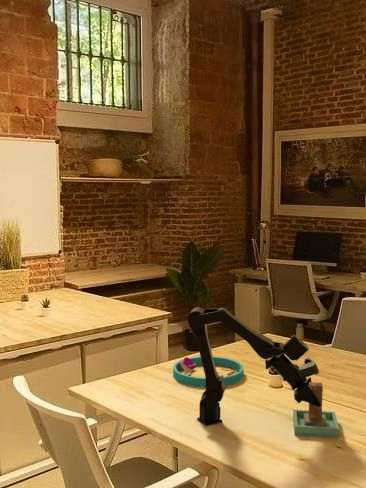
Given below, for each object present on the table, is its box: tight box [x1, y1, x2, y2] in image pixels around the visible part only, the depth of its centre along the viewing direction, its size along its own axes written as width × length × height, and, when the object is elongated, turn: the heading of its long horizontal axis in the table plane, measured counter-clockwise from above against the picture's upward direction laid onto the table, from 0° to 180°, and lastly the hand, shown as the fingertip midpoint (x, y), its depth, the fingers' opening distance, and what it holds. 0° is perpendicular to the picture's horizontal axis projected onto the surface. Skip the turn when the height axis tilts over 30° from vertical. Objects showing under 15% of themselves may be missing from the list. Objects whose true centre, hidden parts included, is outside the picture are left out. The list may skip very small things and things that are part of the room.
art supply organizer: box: [172, 356, 245, 388], centre depth 243 cm, size 30×30×6 cm
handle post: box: [304, 381, 327, 427], centre depth 189 cm, size 7×7×13 cm
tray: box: [292, 409, 340, 439], centre depth 190 cm, size 14×14×3 cm
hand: (319, 403), depth 189 cm, fingers closed on handle post, 4 cm apart
